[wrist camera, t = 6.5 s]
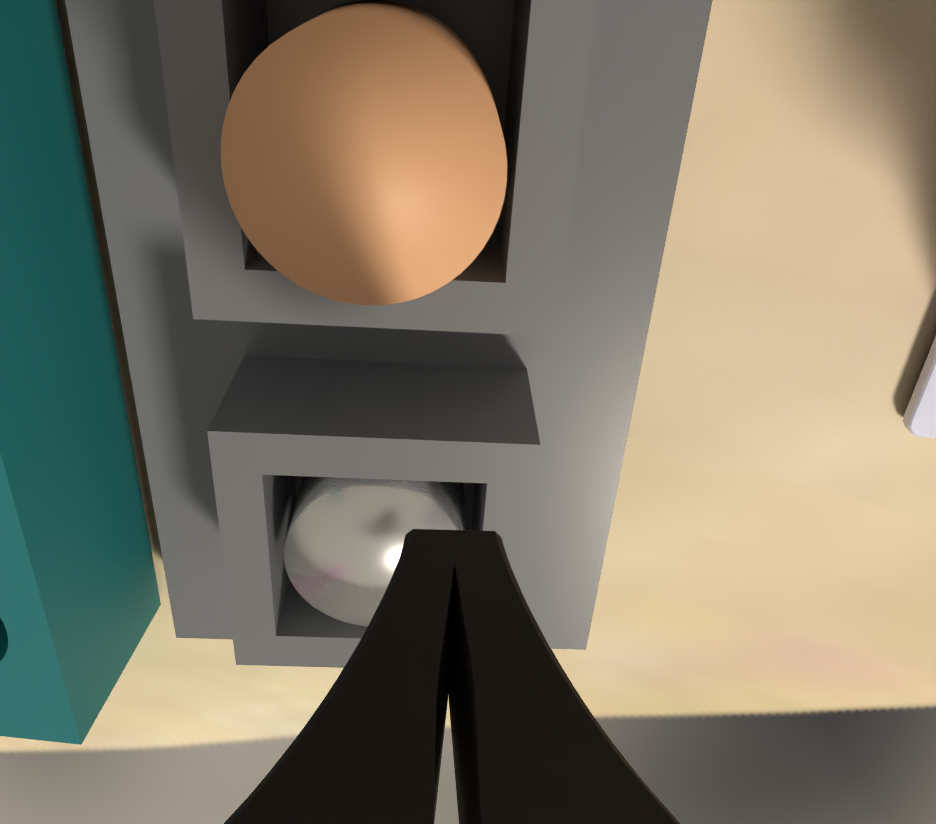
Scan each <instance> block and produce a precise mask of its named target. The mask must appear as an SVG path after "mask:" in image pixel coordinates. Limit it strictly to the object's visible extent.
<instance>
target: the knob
mask: <svg viewBox="0 0 936 824" xmlns="http://www.w3.org/2000/svg"><path fill="white" fill-rule="evenodd" d="M412 529H437V530H465V506H464V483H463V482H438V481H412V480H387V479H361V478H335V477H310V476H303V479H302V483H301V487H300V490H299V494H298V498H297V501H296V505H295V509H294V512H293V516H292V520H291V523H290V527H289V531H288V534H287V538H286V542H285V548H284V562H285V568H286V571H287V574H288V577H289V579H290V580H291V582H292V584H293V586H294V587H295V589H296V590H297V591H298V593H299V594H300V595H301V596H302V597H303V598H304V599H305V600H306V601H307V602H308V603H309V604H311V605H312V606H313V607H315V608H316V609H318V610H319V611H321V612H322V613H324V614H326V615H328V616H330V617H332V618H335V619H338V620H340V621H343V622H347V623H350V624H355V625H361V626H368V625H369V623H370V621H371V620H372V618H373V616H374V614H375V612H376V610H377V608H378V606H379V604H380V602H381V600H382V598H383V596H384V594H385V591H386V589H387V587H388V585H389V582H390V580H391V578H392V575H393V573H394V570H395V568H396V565H397V563H398V560H399V557H400V554H401V551H402V548H403V544H404V539H405V535H406V534H407V533H408V532H410V531H411V530H412Z"/></svg>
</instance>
